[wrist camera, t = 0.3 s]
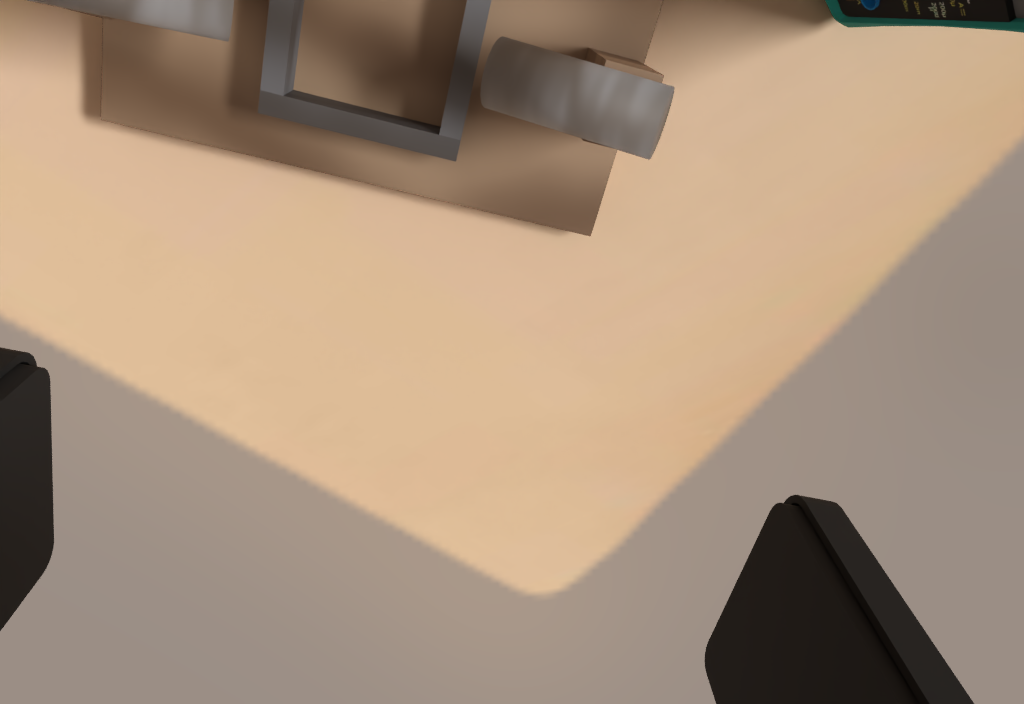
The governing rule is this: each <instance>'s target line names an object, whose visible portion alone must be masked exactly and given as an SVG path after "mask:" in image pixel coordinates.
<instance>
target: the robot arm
mask: <svg viewBox="0 0 1024 704" xmlns="http://www.w3.org/2000/svg"><path fill="white" fill-rule="evenodd" d="M52 484H53V482H52V440H51V395H50V376H49V373H48V371H47V370H46V369H45V368H41V367H37V365H36V361H35V359H34V357H33V356H32V355H31V354H30V353H27V352H21V351H16V350H10V349H5V348H0V631H1V629H2V628H3V627H4V625H5V624H6V623H7V621H8V620H9V619H10V617H11V616H12V615H13V613H14V612H15V611H16V609H17V608H18V607H19V605H20V604H21V602H22V601H23V600H24V598H25V597H26V596H27V594H28V593H29V592H30V590H31V589H32V588H33V586H34V585H35V583H36V582H37V581H38V580H39V578H40V577H41V576H42V574H43V572H44V571H45V569H46V567H47V565H48V563H49V561H50V558H51V555H52V551H53V545H54V529H53V528H54V527H53V526H54V525H53V485H52ZM705 668H706V673H707V676H708V679H709V683H710V685H711V689H712V692H713V695H714V698H715V701H716V704H974V703H973V701H972V700H971V699H970V697H969V695H968V694H967V693H966V691H965V690H964V688H963V687H962V685H961V684H960V682H959V681H958V679H957V678H956V676H955V675H954V673H953V672H952V670H951V669H950V668H949V666H948V665H947V663H946V662H945V660H944V659H943V657H942V656H941V654H940V653H939V651H938V650H937V648H936V647H935V645H934V644H933V642H932V641H931V639H930V638H929V636H928V635H927V634H926V632H925V630H924V629H923V627H922V626H921V625H920V623H919V622H918V620H917V619H916V617H915V616H914V614H913V613H912V611H911V610H910V608H909V607H908V605H907V604H906V603H905V601H904V599H903V598H902V596H901V595H900V594H899V592H898V591H897V589H896V588H895V587H894V585H893V583H892V582H891V580H890V579H889V577H888V576H887V574H886V573H885V571H884V570H883V569H882V567H881V565H880V564H879V563H878V561H877V560H876V558H875V557H874V555H873V554H872V552H871V551H870V549H869V548H868V546H867V545H866V543H865V542H864V540H863V539H862V537H861V536H860V534H859V533H858V532H857V530H856V529H855V527H854V526H853V524H852V523H851V521H850V520H849V518H848V517H847V515H846V514H845V512H844V511H843V509H842V508H841V507H840V506H839V505H838V504H837V503H835V502H831V501H826V500H821V499H815V498H810V497H805V496H799V495H793V496H790V497H789V498H788V499H787V500H786V501H785V502H784V503H777V504H776V505H774V506H773V508H772V509H771V511H770V513H769V515H768V517H767V519H766V521H765V523H764V526H763V528H762V529H761V532H760V534H759V536H758V538H757V540H756V542H755V544H754V546H753V549H752V551H751V553H750V555H749V557H748V559H747V561H746V563H745V565H744V568H743V570H742V572H741V574H740V576H739V578H738V580H737V582H736V584H735V586H734V589H733V591H732V593H731V595H730V597H729V599H728V601H727V604H726V606H725V608H724V610H723V612H722V614H721V616H720V618H719V620H718V622H717V625H716V627H715V629H714V631H713V633H712V635H711V637H710V639H709V641H708V644H707V647H706V652H705Z"/></svg>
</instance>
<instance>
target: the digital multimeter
mask: <svg viewBox="0 0 1024 704" xmlns="http://www.w3.org/2000/svg"><path fill="white" fill-rule="evenodd" d="M825 1H826V3H827V5H828V7H829V9H830V11H831V13H832V16H833V17H834V19H835V20H836V21H838V22H839V23H841V24H843V25H844V26H847V27H871V26H945V27H961V28H976V29H991V30H1005V31H1014V32H1023V33H1024V0H825Z"/></svg>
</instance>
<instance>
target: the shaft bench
mask: <svg viewBox="0 0 1024 704" xmlns="http://www.w3.org/2000/svg"><path fill="white" fill-rule="evenodd" d="M28 1H33V2H38V3H43V4H47V5H52V6H57V7H62V8H66V9H69V10H73V11H77V12H81V13H85V14H89V15H93V16H97V17H101V18H103V37H102V90H101V120H104V121H108V122H113V123H117V124H121V125H125V126H129V127H134V128H138V129H142V130H146V131H150V132H155V133H159V134H163V135H167V136H171V137H176V138H180V139H184V140H188V141H192V142H197V143H201V144H205V145H209V146H213V147H218V148H222V149H226V150H230V151H234V152H239V153H243V154H247V155H251V156H255V157H260V158H264V159H268V160H272V161H276V162H281V163H285V164H289V165H293V166H297V167H302V168H306V169H310V170H314V171H318V172H323V173H327V174H331V175H335V176H339V177H344V178H348V179H352V180H356V181H360V182H365V183H369V184H373V185H377V186H381V187H386V188H390V189H394V190H398V191H402V192H407V193H411V194H415V195H419V196H423V197H428V198H432V199H436V200H440V201H444V202H449V203H453V204H457V205H461V206H465V207H470V208H474V209H478V210H482V211H486V212H491V213H495V214H499V215H503V216H507V217H512V218H516V219H520V220H524V221H528V222H533V223H537V224H541V225H545V226H549V227H554V228H558V229H562V230H566V231H570V232H575V233H579V234H583V235H587V236H591V233H592V230H593V227H594V223H595V220H596V217H597V214H598V211H599V207H600V204H601V201H602V198H603V194H604V191H605V188H606V185H607V181H608V178H609V175H610V172H611V168H612V165H613V162H614V159H615V155H616V152H617V150H620V151H623V152H626V153H630V154H633V155H636V156H639V157H642V158H645V159H650V158H651V157H652V155H653V153H654V151H655V149H656V146H657V144H658V141H659V139H660V136H661V133H662V131H663V128H664V125H665V122H666V119H667V116H668V113H669V109H670V106H671V102H672V98H673V94H674V87H673V86H669V85H666V84H662V81H663V77H664V75H662V74H660V73H659V72H657V71H655V70H653V69H652V68H650V67H648V66H646V65H644V61H645V58H646V55H647V52H648V49H649V45H650V42H651V39H652V36H653V32H654V29H655V26H656V23H657V19H658V16H659V13H660V10H661V6H662V3H663V0H28Z"/></svg>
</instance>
